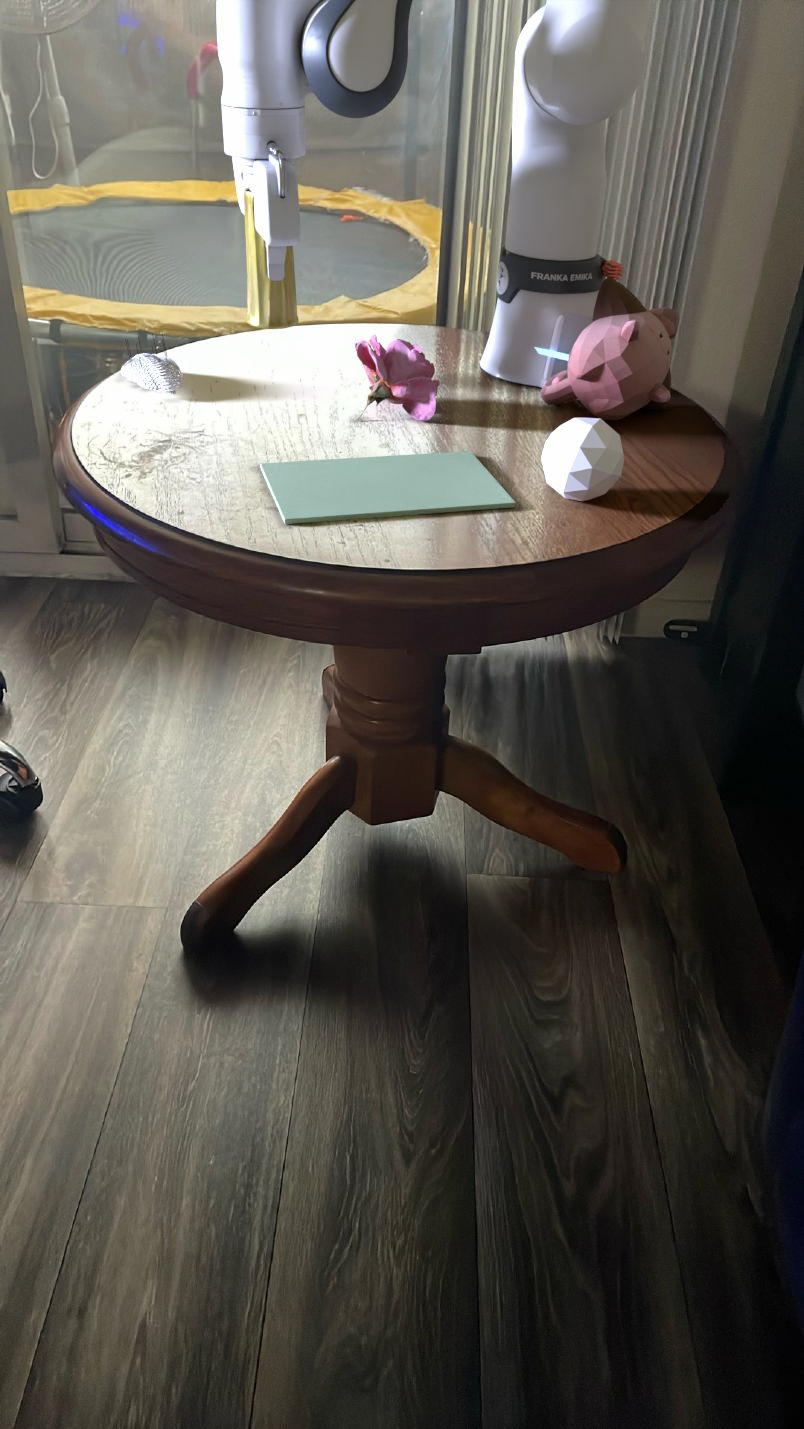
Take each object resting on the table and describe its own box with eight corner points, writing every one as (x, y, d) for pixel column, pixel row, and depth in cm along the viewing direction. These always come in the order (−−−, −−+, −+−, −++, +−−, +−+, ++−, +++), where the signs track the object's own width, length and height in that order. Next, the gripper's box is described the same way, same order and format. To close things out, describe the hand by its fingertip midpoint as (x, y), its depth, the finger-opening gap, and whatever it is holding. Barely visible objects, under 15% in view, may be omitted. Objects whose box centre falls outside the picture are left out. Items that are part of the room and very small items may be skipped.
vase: (282, 332, 119) (276, 196, 111) (237, 325, 121) (228, 190, 113) (307, 320, 124) (304, 188, 115) (263, 313, 126) (257, 183, 117)
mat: (470, 455, 107) (470, 450, 107) (515, 507, 97) (515, 502, 96) (260, 468, 101) (259, 463, 101) (284, 524, 91) (284, 519, 91)
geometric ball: (559, 513, 103) (560, 434, 103) (636, 504, 98) (637, 421, 99) (526, 497, 96) (527, 413, 97) (608, 487, 92) (608, 398, 92)
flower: (402, 420, 124) (456, 354, 119) (406, 458, 116) (464, 390, 111) (325, 363, 119) (378, 293, 114) (324, 399, 111) (380, 325, 106)
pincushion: (198, 392, 117) (189, 342, 113) (148, 405, 114) (136, 354, 111) (159, 364, 125) (149, 317, 122) (111, 376, 123) (100, 328, 119)
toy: (598, 312, 105) (671, 242, 111) (494, 345, 117) (565, 280, 123) (661, 451, 112) (726, 378, 119) (558, 468, 125) (621, 401, 131)
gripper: (313, 149, 104) (315, 293, 112) (276, 124, 119) (281, 252, 128) (250, 150, 102) (258, 295, 110) (222, 124, 118) (230, 253, 126)
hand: (270, 272), depth 119 cm, fingers closed on vase, 5 cm apart
